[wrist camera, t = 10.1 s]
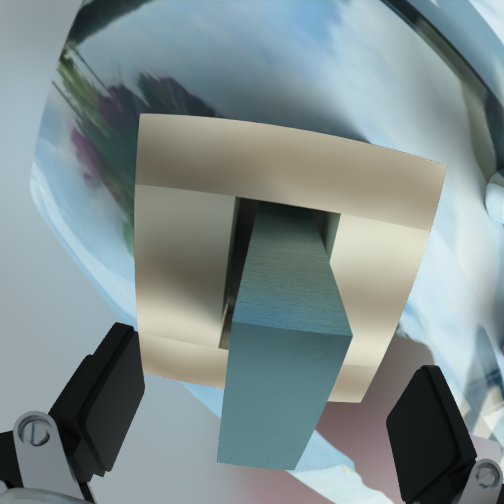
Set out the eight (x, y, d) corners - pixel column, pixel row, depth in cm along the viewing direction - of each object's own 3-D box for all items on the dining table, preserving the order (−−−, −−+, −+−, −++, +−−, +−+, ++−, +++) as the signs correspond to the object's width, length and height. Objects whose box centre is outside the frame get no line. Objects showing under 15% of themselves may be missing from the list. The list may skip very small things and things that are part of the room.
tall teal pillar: (259, 200, 19) (231, 321, 8) (310, 208, 19) (353, 335, 7) (245, 303, 21) (216, 461, 10) (289, 309, 21) (294, 470, 10)
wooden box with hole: (204, 116, 26) (140, 113, 13) (371, 144, 26) (447, 165, 13) (190, 278, 33) (142, 371, 20) (334, 300, 32) (360, 402, 19)
